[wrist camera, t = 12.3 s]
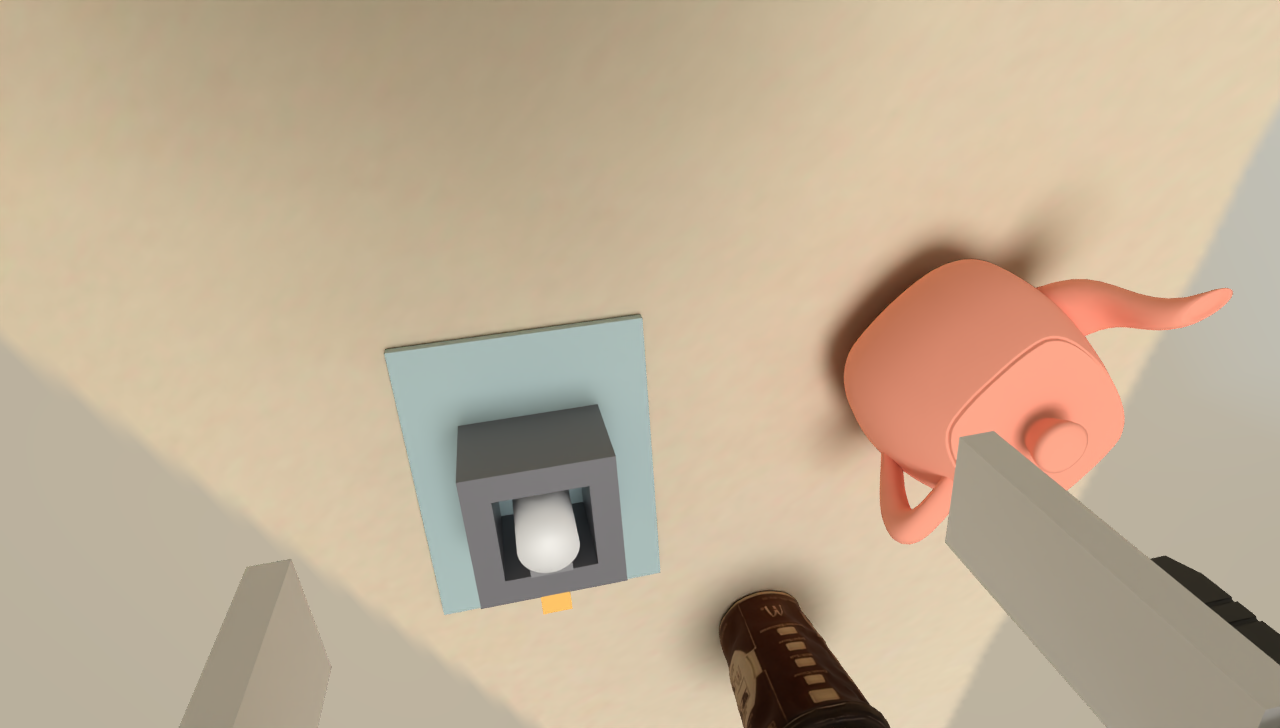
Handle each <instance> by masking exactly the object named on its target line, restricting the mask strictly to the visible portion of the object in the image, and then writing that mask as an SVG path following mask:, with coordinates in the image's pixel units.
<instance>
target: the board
mask: <svg viewBox="0 0 1280 728" xmlns="http://www.w3.org/2000/svg"><path fill="white" fill-rule="evenodd" d="M384 355H385V359H386V363H387V368H388V372H389V376H390V381H391V385H392V389H393V394H394V398H395V402H396V407H397V411H398V415H399V420H400V424H401V428H402V433H403V437H404V441H405V446H406V450H407V454H408V459H409V463H410V467H411V472H412V476H413V480H414V485H415V489H416V493H417V498H418V502H419V506H420V511H421V515H422V519H423V524H424V528H425V532H426V537H427V541H428V545H429V550H430V554H431V559H432V563H433V567H434V572H435V576H436V580H437V585H438V589H439V593H440V598H441V602H442V606H443V611H444V615H446V614H452V613H457V612H462V611H467V610H472V609H477V608H481V606H480V601H479V596H478V591H477V586H476V581H475V576H474V571H473V566H472V561H471V556H470V551H469V546H468V542H467V537H466V532H465V527H464V522H463V517H462V512H461V507H460V502H459V497H458V492H457V487H456V460H457V434H458V426H461V425H467V424H474V423H480V422H486V421H493V420H499V419H506V418H512V417H518V416H525V415H531V414H538V413H544V412H551V411H557V410H563V409H570V408H576V407H583V406H589V405H595V404H598V407H599V409H600V412H601V415H602V418H603V421H604V424H605V427H606V429H607V432H608V435H609V438H610V441H611V444H612V447H613V449H614V452H615V455H616V463H617V474H618V484H619V495H620V506H621V516H622V527H623V537H624V548H625V559H626V569H627V579H630V578H635V577H640V576H645V575H650V574H655V573H660V561H659V547H658V532H657V518H656V504H655V490H654V476H653V462H652V448H651V434H650V420H649V405H648V391H647V377H646V363H645V349H644V335H643V321H642V317H641V315H640V314H639V315H632V316H625V317H618V318H610V319H603V320H596V321H589V322H581V323H574V324H567V325H559V326H552V327H545V328H538V329H530V330H523V331H516V332H509V333H501V334H494V335H487V336H479V337H472V338H465V339H458V340H450V341H443V342H436V343H428V344H421V345H414V346H407V347H399V348H392V349H385V353H384ZM579 502H583V496H582V487H581V488H575V489H569V490H564V491H558V492H552V493H546V494H541V495H535V496H529V497H523V498H518V499H512V500H506V501H500V502H499V506H500V512H501V516H505V515H511V514H514V524H515V536H516V547H517V555H518V558H519V560H520V562H521V563H522V564H523V565H524V566H525V567H526V568H528V569H530V573H531V578H534V577H539V576H544V575H549V574H555V573H560V572H565V571H570V570H573V563H572V561H573V560H574V559H575V558H576V556H577V554H578V552H579V548H580V541H579V536H578V532H577V527H576V523H575V518H574V513H573V509H572V504H573V503H579Z"/></svg>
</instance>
